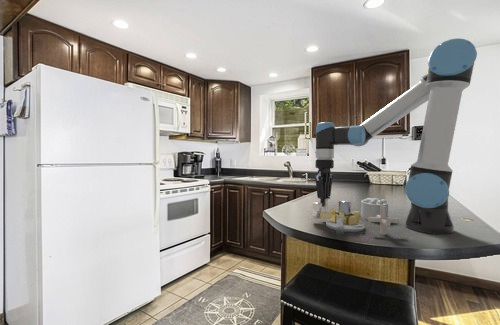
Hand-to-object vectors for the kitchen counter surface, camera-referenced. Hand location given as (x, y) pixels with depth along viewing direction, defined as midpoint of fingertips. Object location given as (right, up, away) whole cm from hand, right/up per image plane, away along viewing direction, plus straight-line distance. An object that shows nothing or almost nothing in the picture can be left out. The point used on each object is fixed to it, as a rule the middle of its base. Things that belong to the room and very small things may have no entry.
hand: (323, 213), depth 110 cm
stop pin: (0, -3, -19) cm, 19 cm away
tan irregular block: (+2, -1, -7) cm, 8 cm away
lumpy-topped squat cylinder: (+25, -3, +5) cm, 25 cm away
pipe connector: (+16, -4, -19) cm, 25 cm away
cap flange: (+5, -3, -9) cm, 11 cm away
